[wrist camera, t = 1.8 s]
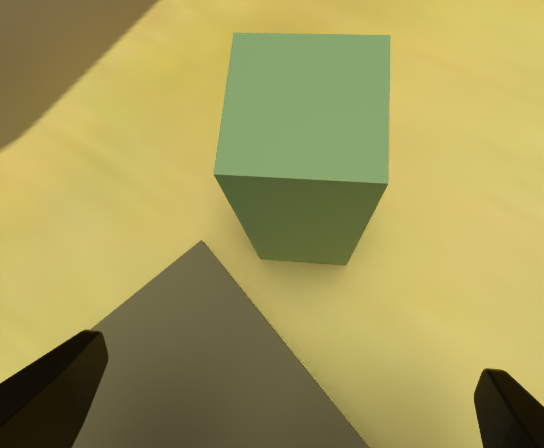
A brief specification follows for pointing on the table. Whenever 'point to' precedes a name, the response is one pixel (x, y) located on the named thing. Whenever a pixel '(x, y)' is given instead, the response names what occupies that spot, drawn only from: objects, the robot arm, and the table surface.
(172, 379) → the rubber mat
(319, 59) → the teal block
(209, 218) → the table surface
